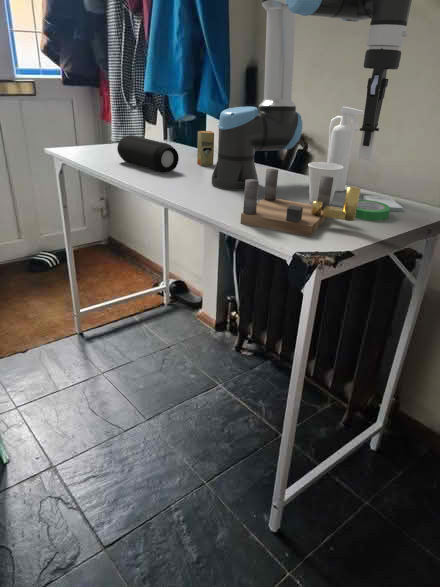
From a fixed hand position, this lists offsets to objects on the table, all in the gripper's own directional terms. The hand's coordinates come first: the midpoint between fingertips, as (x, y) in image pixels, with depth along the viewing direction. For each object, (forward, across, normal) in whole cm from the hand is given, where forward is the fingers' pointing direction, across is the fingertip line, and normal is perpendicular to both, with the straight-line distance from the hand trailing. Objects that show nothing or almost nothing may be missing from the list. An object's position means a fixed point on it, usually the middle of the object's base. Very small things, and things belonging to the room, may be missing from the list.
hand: (364, 159), depth 109 cm
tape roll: (+16, +10, -2) cm, 20 cm away
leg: (+13, -6, +4) cm, 15 cm away
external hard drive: (+17, +23, -4) cm, 29 cm away
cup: (+16, +13, +12) cm, 24 cm away
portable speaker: (+16, +24, +79) cm, 84 cm away
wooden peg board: (+16, -7, +16) cm, 24 cm away
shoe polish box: (+16, +41, +64) cm, 77 cm away
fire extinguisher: (+16, +33, +13) cm, 39 cm away
